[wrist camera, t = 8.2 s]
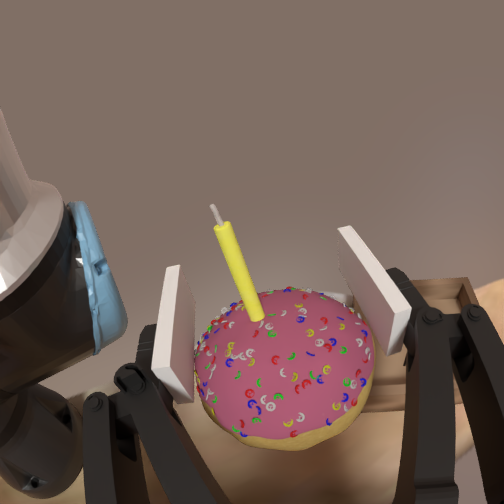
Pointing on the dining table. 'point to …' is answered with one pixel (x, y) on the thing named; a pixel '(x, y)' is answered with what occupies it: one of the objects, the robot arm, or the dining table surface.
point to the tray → (391, 367)
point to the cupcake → (282, 362)
